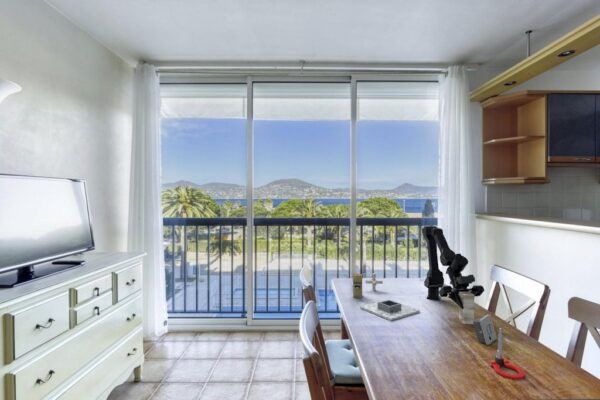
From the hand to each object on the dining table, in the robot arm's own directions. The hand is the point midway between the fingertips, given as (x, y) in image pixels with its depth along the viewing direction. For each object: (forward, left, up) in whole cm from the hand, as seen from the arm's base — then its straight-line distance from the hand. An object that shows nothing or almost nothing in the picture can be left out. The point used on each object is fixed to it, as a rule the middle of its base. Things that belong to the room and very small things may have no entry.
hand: (468, 308), depth 149 cm
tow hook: (+39, +12, -7) cm, 41 cm away
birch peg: (-1, -1, -7) cm, 7 cm away
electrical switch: (+16, +6, -7) cm, 18 cm away
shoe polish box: (-16, -56, -7) cm, 58 cm away
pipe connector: (-31, -51, -7) cm, 60 cm away
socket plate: (-1, -35, -7) cm, 35 cm away
